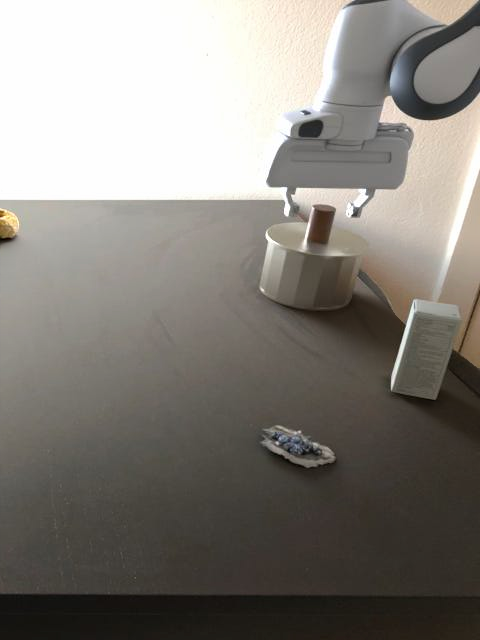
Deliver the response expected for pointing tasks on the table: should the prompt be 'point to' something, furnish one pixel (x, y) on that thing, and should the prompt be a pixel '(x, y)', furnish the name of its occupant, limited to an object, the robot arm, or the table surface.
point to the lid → (318, 237)
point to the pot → (308, 280)
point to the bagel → (8, 224)
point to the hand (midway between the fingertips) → (321, 216)
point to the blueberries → (296, 446)
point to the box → (425, 348)
